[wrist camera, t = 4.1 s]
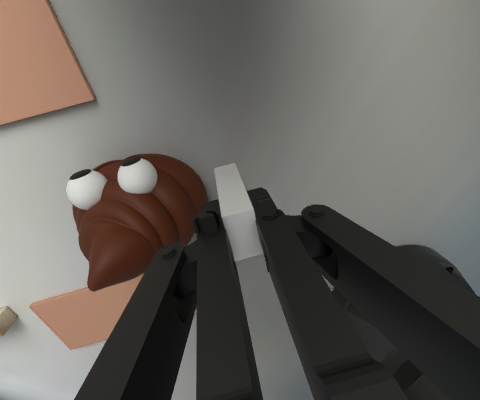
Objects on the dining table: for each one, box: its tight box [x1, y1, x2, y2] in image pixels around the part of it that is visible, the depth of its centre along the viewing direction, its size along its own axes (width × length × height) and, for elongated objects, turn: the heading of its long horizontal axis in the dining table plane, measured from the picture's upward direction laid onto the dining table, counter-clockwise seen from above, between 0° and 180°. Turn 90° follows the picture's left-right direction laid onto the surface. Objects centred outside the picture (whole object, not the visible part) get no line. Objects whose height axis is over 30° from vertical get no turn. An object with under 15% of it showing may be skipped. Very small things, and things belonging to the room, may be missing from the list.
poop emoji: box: [66, 154, 207, 292], centre depth 16 cm, size 10×9×9 cm
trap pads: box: [0, 0, 197, 350], centre depth 20 cm, size 29×14×1 cm, turn 13°
